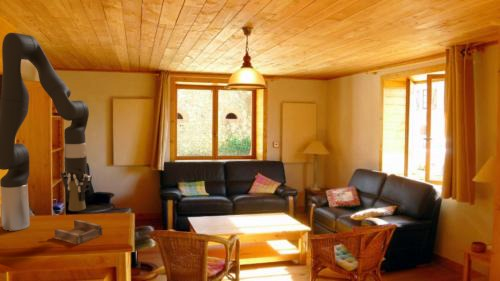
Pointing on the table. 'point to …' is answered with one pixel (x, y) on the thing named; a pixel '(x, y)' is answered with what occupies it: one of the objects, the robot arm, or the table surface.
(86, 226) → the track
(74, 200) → the cork
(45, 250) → the table surface
